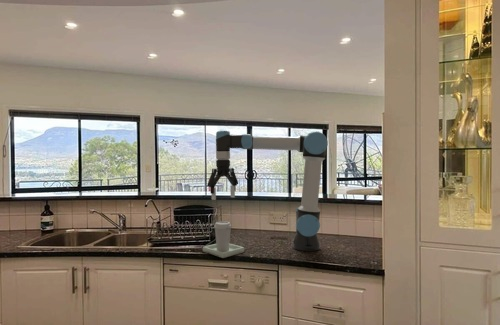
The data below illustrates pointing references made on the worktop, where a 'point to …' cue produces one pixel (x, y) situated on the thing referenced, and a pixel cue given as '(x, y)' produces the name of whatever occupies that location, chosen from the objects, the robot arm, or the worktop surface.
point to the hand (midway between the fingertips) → (223, 198)
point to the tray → (232, 251)
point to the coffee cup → (222, 235)
